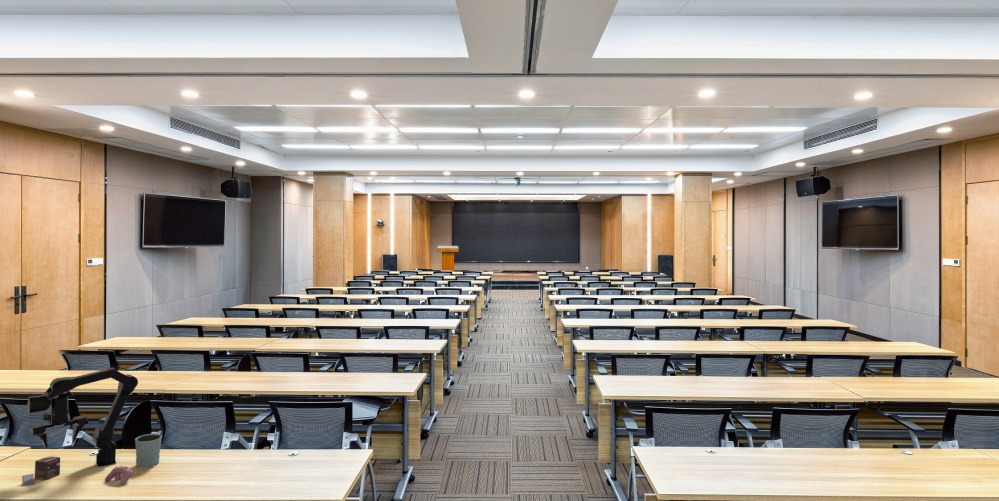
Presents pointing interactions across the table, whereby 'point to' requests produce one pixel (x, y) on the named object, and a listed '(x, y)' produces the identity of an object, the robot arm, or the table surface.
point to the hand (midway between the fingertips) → (59, 445)
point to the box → (47, 467)
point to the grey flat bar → (28, 479)
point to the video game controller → (117, 474)
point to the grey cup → (148, 450)
